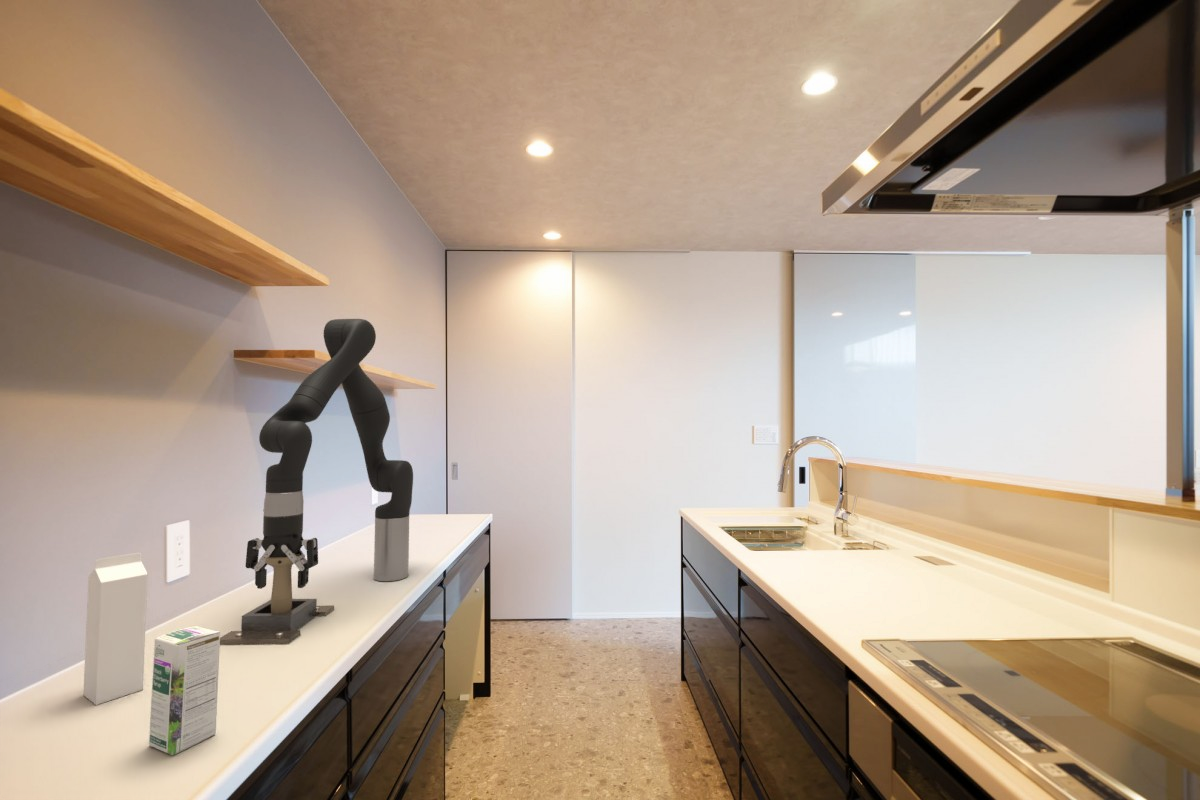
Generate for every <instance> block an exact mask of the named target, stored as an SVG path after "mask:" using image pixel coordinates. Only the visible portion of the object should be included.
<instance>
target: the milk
mask: <svg viewBox="0 0 1200 800" xmlns="http://www.w3.org/2000/svg"><path fill="white" fill-rule="evenodd" d="M142 559H143V555H142V553H141V552H134V553H127V554H121V555H115V556H109V557H103V558H101V557H100V558H97V559H96V560H95V561H94V563H95V564H94V570H93V571H92V572H91V573H90V574H89V575H88V581H87V583H88V585H87V602H86V603H87V604H86V621H85V622H86V624H85V625H86V627H85V630H86V631H85V644H84V645H85V647H84V649H85V650H84V667H83V668H84V670H83V672H84V673H83V689H82V690H83V693H82V695H83V696H84V697H86V698H87V699H88V701H90V702H91V703H93V704H94V705H96V706H98V705H101V704H104V703H107V702H109V701H112V700H116V699H118V698H123V697H124V696H128V695H131V694H135V693H137V692H140V690H141V691H142V690H144V675H145V672H144V671H145V655H146V653H145V647H146V629H147V628H146V626H147V601H148V600H147V597H148V578H149V577H148V572H147V570H146V569H147V568H146V567H145V566H144V563H143V562H142V561H143V560H142Z"/></svg>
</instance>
